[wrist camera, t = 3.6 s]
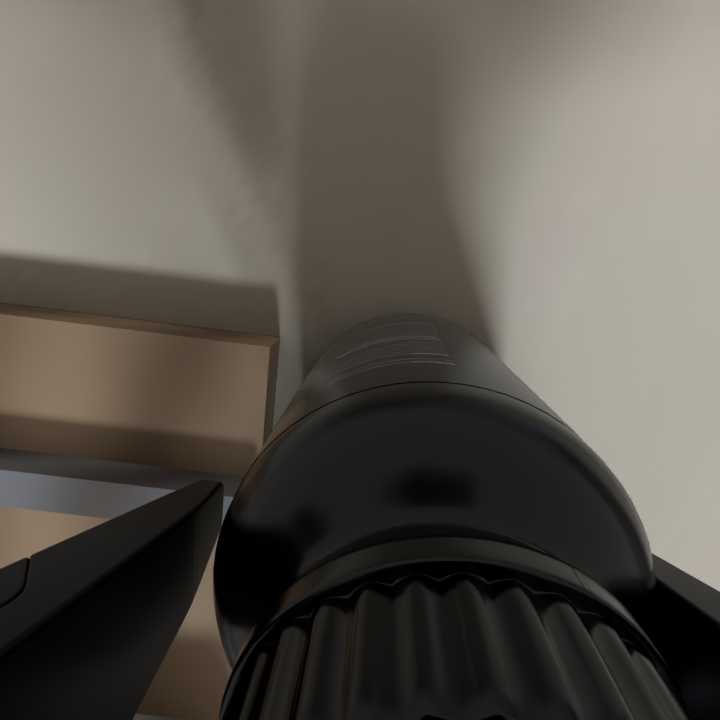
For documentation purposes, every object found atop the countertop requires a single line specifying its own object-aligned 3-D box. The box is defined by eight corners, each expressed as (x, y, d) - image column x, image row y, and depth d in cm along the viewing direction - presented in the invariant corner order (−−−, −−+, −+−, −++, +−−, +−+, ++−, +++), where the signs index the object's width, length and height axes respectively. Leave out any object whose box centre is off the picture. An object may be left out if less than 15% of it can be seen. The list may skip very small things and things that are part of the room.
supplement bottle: (284, 473, 16) (-15, 1081, 4) (333, 285, 14) (72, 419, 3) (471, 527, 16) (696, 1294, 4) (541, 345, 14) (1235, 758, 3)
